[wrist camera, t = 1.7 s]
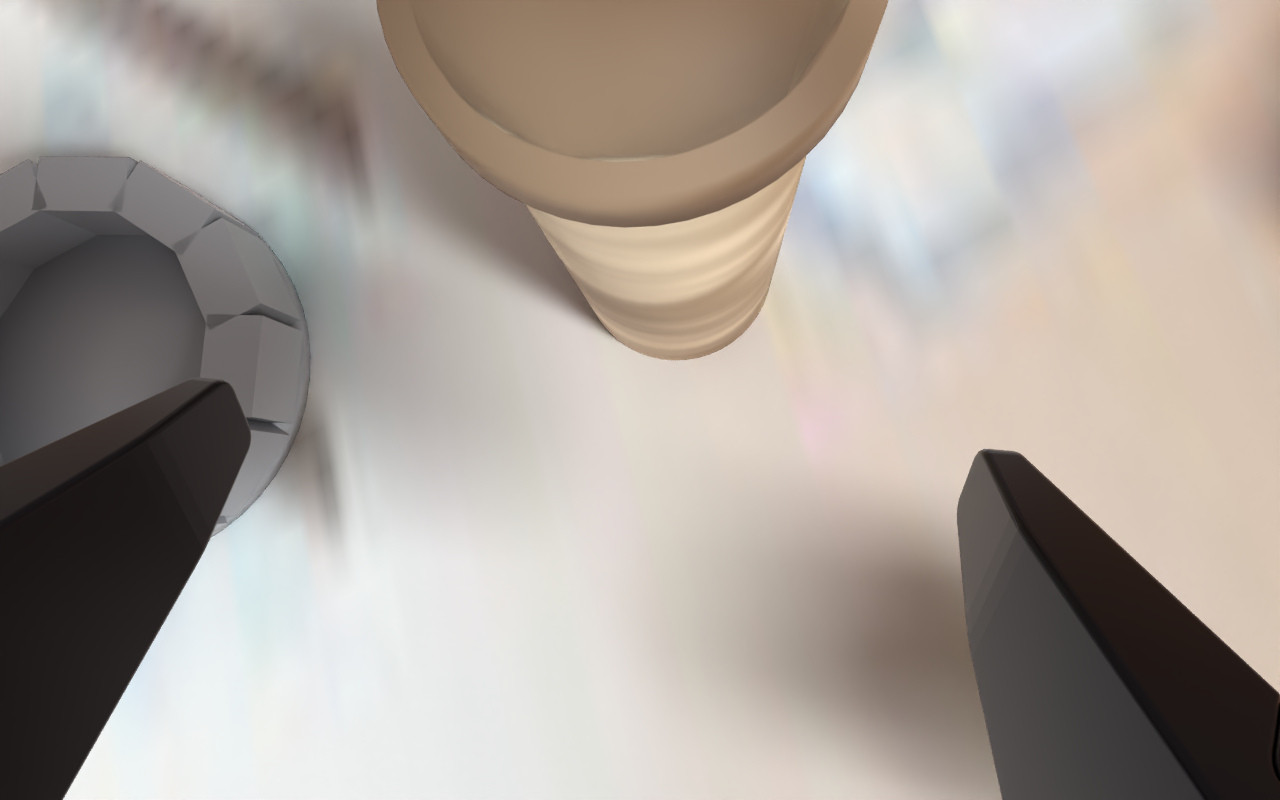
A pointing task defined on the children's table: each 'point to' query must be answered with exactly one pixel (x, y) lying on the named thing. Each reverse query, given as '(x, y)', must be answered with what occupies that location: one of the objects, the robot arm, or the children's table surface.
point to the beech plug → (642, 137)
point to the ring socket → (140, 309)
